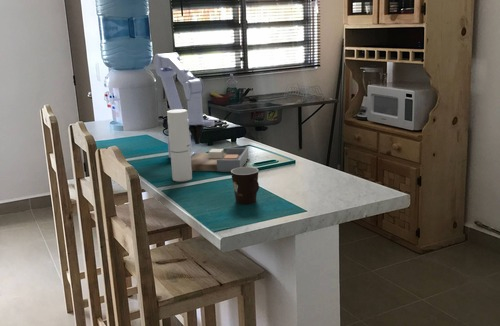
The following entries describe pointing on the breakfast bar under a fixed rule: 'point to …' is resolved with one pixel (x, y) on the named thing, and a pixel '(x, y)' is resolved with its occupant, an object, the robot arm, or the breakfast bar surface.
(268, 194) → the breakfast bar surface
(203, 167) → the walnut board
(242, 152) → the box
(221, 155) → the cream tile
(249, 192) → the coffee mug
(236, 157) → the terracotta tile
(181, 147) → the cylindrical container
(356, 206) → the breakfast bar surface
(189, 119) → the robot arm
